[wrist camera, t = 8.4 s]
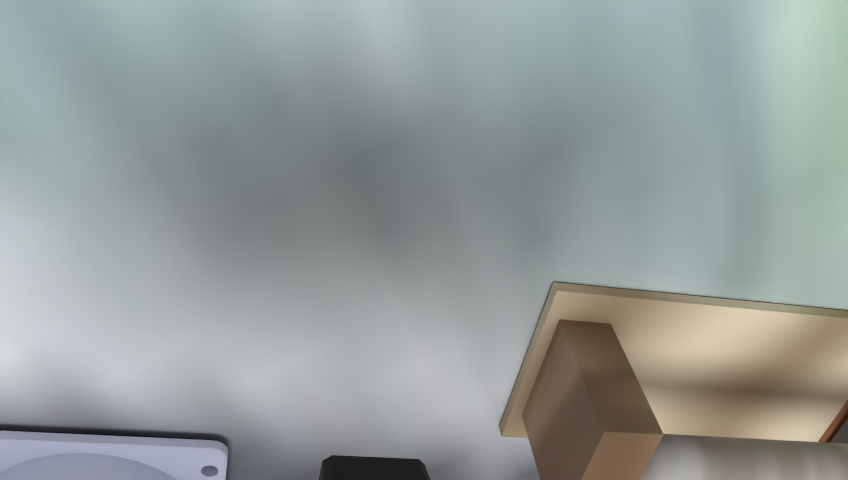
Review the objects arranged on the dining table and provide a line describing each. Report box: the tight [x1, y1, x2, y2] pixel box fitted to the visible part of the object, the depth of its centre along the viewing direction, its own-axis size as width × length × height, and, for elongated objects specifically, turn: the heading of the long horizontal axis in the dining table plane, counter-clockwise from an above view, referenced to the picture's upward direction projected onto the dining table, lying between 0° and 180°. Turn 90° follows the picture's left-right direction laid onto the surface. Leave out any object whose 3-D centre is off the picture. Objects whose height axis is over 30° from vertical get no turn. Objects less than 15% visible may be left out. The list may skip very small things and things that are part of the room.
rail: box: [499, 282, 848, 480], centre depth 24 cm, size 17×6×5 cm, turn 78°
